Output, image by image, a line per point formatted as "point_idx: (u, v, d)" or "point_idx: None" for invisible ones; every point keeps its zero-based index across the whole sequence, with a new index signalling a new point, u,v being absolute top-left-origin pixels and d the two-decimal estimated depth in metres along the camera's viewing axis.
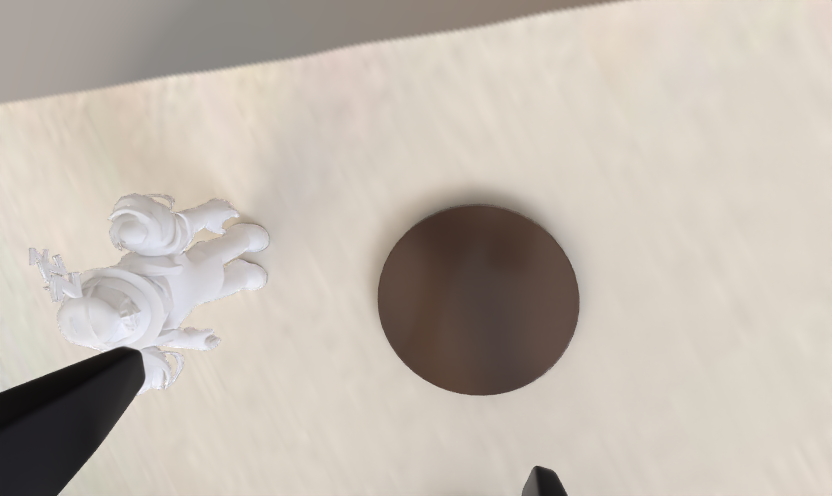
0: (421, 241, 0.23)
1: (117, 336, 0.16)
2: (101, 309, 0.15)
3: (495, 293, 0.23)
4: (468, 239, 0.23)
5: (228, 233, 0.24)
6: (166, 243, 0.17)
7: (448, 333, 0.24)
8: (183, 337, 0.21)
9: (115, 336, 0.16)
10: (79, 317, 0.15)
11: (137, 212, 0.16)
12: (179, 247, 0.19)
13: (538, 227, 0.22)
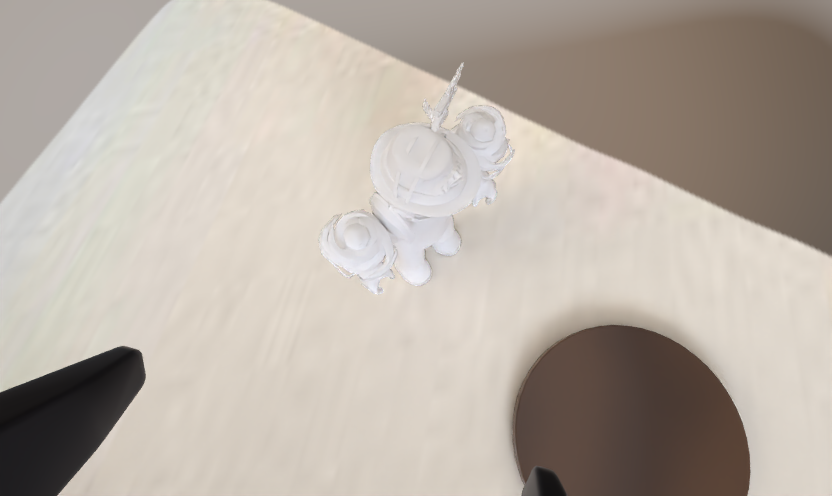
0: (611, 342, 0.22)
1: (424, 186, 0.14)
2: (447, 151, 0.14)
3: (658, 441, 0.21)
4: (658, 370, 0.22)
5: None
6: (491, 159, 0.17)
7: (586, 453, 0.20)
8: None
9: (424, 184, 0.14)
10: (421, 143, 0.14)
11: (501, 119, 0.17)
12: None
13: (732, 402, 0.21)
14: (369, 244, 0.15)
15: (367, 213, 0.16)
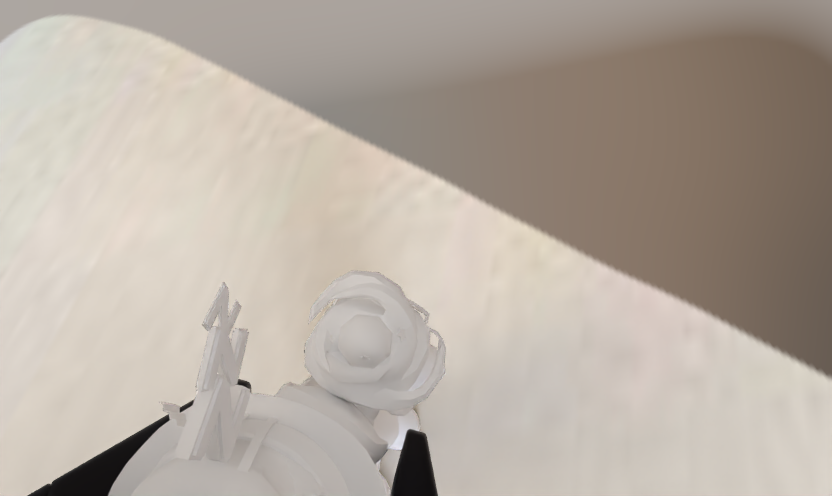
0: None
1: None
2: None
3: None
4: None
5: None
6: (405, 386, 0.08)
7: None
8: None
9: None
10: None
11: (395, 303, 0.08)
12: None
13: None
14: None
15: None
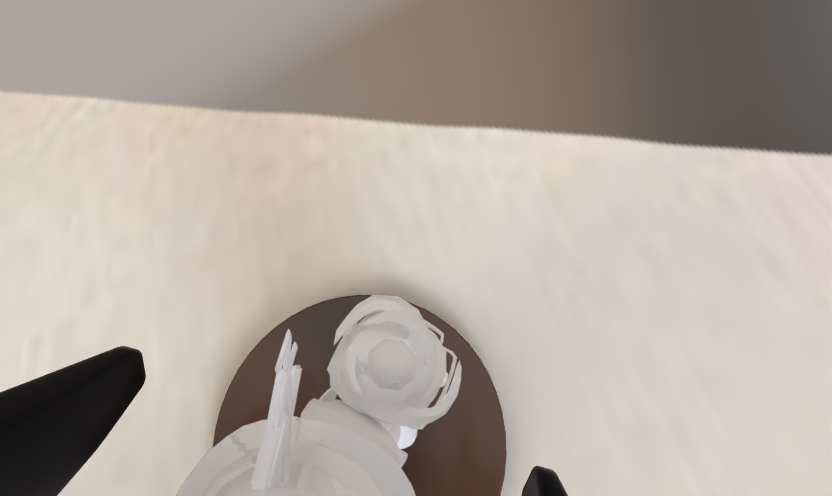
0: (309, 330, 0.17)
1: None
2: None
3: None
4: None
5: None
6: (425, 404, 0.09)
7: None
8: None
9: None
10: None
11: (419, 329, 0.08)
12: None
13: (462, 340, 0.17)
14: None
15: None
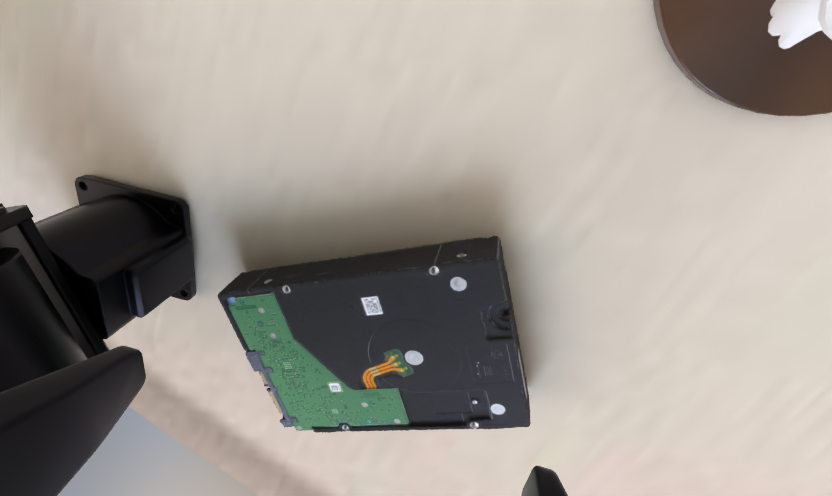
0: None
1: None
2: None
3: None
4: None
5: None
6: None
7: None
8: None
9: None
10: None
11: None
12: None
13: None
14: None
15: None
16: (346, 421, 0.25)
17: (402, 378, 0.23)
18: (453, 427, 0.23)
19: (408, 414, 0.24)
